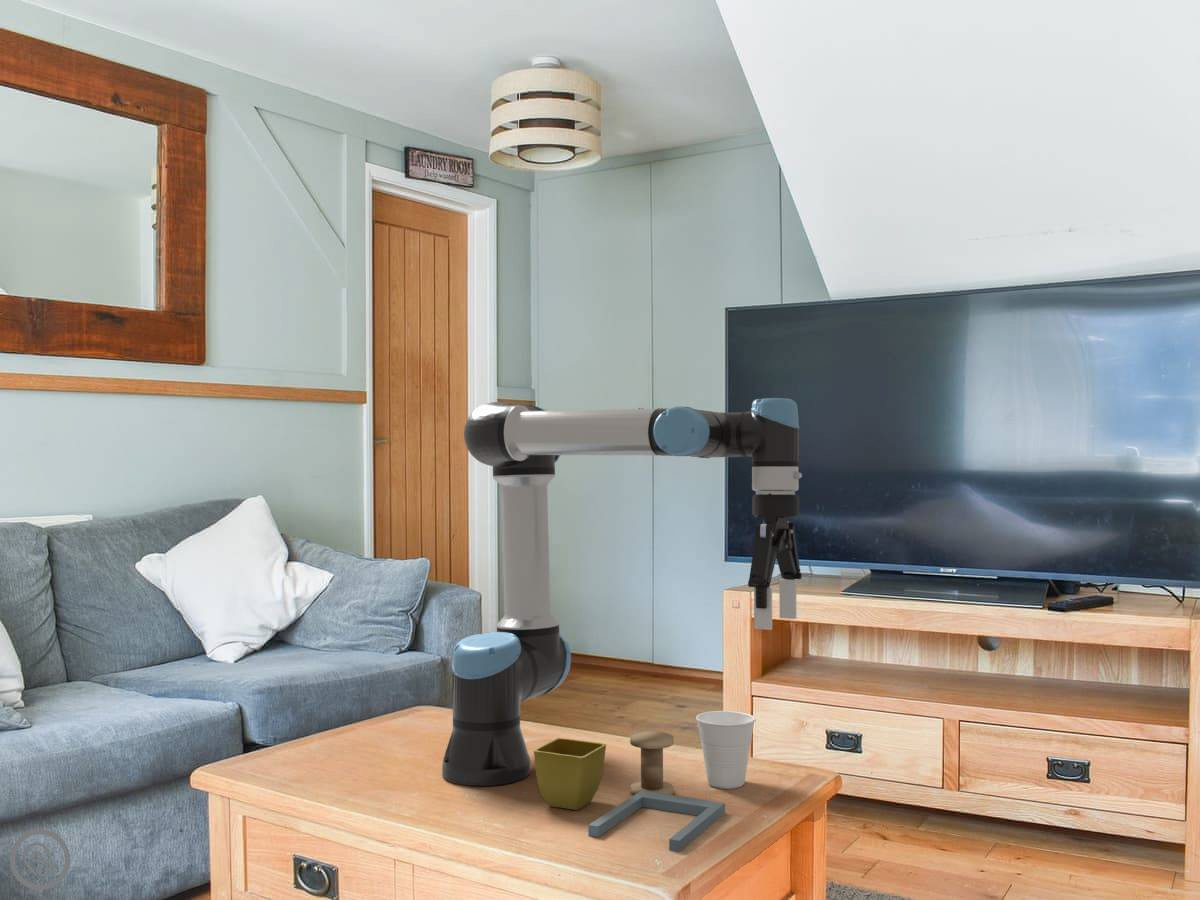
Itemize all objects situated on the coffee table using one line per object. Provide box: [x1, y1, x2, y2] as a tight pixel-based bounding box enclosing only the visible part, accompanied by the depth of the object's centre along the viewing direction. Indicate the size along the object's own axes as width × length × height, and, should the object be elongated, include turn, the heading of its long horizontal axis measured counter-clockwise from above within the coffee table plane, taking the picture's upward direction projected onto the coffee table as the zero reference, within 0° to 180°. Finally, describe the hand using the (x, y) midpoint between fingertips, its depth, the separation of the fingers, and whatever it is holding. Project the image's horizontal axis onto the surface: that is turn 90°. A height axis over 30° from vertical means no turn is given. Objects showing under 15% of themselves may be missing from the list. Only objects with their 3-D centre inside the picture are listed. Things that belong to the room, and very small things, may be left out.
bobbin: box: [629, 731, 675, 797], centre depth 164 cm, size 7×7×9 cm
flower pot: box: [533, 737, 607, 811], centre depth 159 cm, size 9×9×9 cm
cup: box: [695, 710, 756, 790], centre depth 169 cm, size 10×10×11 cm
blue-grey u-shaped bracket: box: [587, 790, 726, 853], centre depth 149 cm, size 18×14×2 cm
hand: (776, 623), depth 165 cm, fingers open, 13 cm apart
